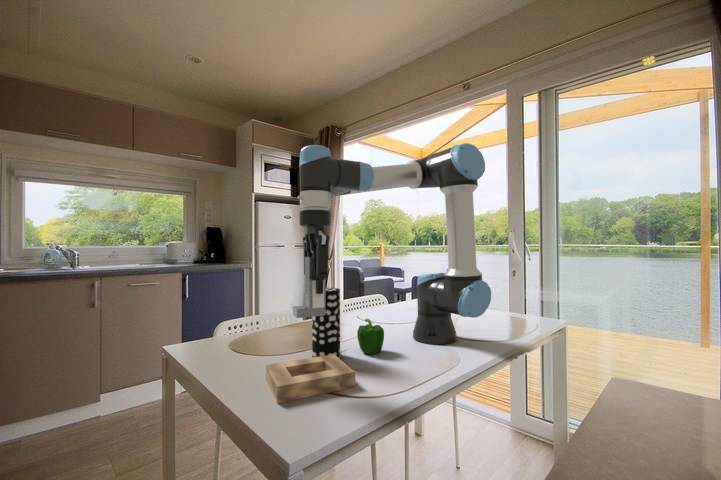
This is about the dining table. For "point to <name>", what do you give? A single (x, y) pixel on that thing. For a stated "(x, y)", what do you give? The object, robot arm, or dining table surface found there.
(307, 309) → the bracket
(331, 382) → the wooden rectangular frame
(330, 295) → the white-spotted black cylinder
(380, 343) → the bell pepper
